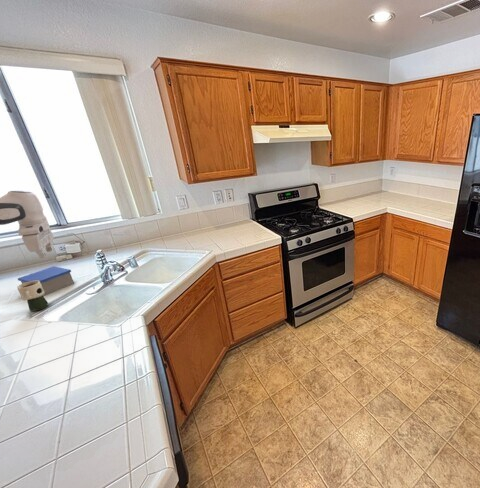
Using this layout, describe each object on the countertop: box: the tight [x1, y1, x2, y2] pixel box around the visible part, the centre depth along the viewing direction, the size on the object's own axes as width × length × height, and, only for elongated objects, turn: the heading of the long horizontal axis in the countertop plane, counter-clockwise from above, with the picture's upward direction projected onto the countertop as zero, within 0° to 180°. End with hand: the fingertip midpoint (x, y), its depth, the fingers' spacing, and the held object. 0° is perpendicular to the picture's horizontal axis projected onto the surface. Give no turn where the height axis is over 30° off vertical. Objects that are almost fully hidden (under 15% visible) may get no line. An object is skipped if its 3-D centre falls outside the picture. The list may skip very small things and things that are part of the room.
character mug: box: [16, 281, 49, 312], centre depth 121 cm, size 11×7×13 cm, turn 34°
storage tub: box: [17, 266, 75, 297], centre depth 140 cm, size 15×15×8 cm
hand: (46, 254), depth 124 cm, fingers open, 8 cm apart
